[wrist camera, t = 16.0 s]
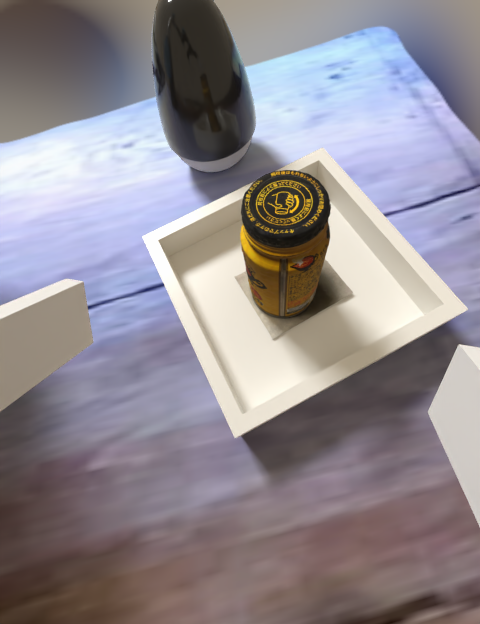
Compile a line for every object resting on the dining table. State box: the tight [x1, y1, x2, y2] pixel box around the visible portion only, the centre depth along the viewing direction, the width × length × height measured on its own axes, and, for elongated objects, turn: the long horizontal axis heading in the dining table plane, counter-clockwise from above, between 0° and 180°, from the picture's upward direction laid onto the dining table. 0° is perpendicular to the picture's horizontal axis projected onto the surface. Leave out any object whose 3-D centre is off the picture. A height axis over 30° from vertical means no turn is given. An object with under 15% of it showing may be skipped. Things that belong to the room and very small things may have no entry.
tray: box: [143, 148, 468, 438], centre depth 28 cm, size 20×20×4 cm
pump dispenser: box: [152, 0, 256, 172], centre depth 30 cm, size 10×10×15 cm
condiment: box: [235, 170, 353, 339], centre depth 23 cm, size 7×8×12 cm
